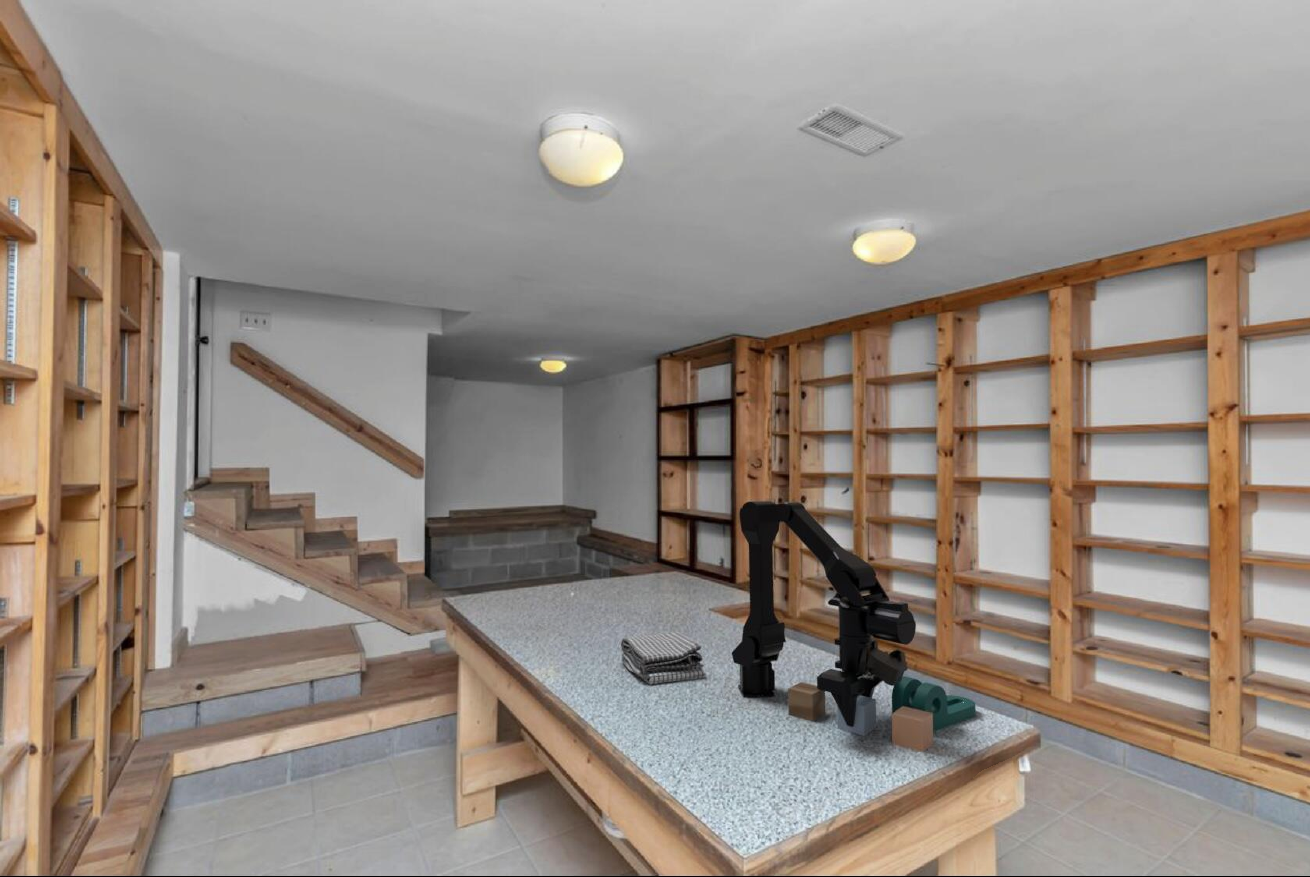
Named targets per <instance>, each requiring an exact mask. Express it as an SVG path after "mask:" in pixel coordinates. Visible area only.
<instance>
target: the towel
mask: <svg viewBox="0 0 1310 877" xmlns="http://www.w3.org/2000/svg"><path fill="white" fill-rule="evenodd" d="M620 647H621V651H622V653H621V662H622V663H623V665H624V666H625V667H626V668H627V669H628V671H630V672H632V673H634V674H635V675H637V676H638V677H640V678H641V680H644V682H645V683H647V685H656V684H661V683H664V684H665V683H672V682H680V681H689V680H697V679H705V678H706V677H707V673H706V671H705V669H704V664H703V663H701V662H702V661H703V656H702V655H701V654H700V653H699V652H698V651H700V650H701V649H702V646H701V645H700V643H699V642H697V641H695V640H692V639H690V638H689V637H688V636H686V635H684V634H682V633H681V632H679V631H672V632H667V633H661V634H648V635H641V636H631V637H630V636H628V637H624V638H623V639H621V643H620Z"/></svg>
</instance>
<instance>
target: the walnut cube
mask: <svg viewBox="0 0 1310 877" xmlns="http://www.w3.org/2000/svg"><path fill="white" fill-rule="evenodd" d="M787 690H788V693H787V694H788V704H787V705H788V716H792V717H795V718H798V719H802V720H806V721H810V722H814V721H816V720H818V719H820V718H821V717H823V716H825V715H826V691H822V690H818V689H817V684H816V685H815V684H811V683H806V682H802V681H801V682H798V683H797V684H795V685H792V686H790V687H788V689H787Z"/></svg>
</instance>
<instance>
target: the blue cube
mask: <svg viewBox="0 0 1310 877" xmlns="http://www.w3.org/2000/svg"><path fill="white" fill-rule="evenodd" d="M836 706H837V705H836ZM836 708H837V715H836V716H837V718H836V719H837V722H836V723H837V729H839V730H842V731H847V732H850V733H853V734H857V735H860V736H863V737H865V736H867V735H868V734H869V733H871V732H872V731H873V730H875V729H876V728H877V698H873V697H872V698H869V697H865V696H861V695H860V696H859V697H857V702H856V712H855V720H854V726H853V727H850V726H847V724H846V722H845V720H844V718H843V716H842V714H841V712H840V710H839V708H838V706H837V707H836Z"/></svg>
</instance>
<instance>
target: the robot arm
mask: <svg viewBox="0 0 1310 877" xmlns="http://www.w3.org/2000/svg"><path fill="white" fill-rule="evenodd" d="M738 514H739V515H738V516H739V522H740V523H739V524H740V530H741V533H742V535H743V536H744V539H745V540H746V542H747V543H748V572H749V574H748V578H749V579H748V580H749V584H748V585H749V615H748V617H747V618H746V621H745V623H744V625H743V627H742V637H741V642H740V643H739V644H738V645H737V646H736V647H735V648H734V649H733V651H731V655H732V660H733V663H734V664H737V665H739V684H738V685H737V688H738V690H739V691H740V693H741V695H742V696H743V697H745V698H746V697H749V698H752V697H755V698H756V697H775V692H774V691H775V690H776V682H775V681H776V679H775V678H776V677H775V675H776V674H775V673H776V671H775V669H774V668H773V663H772V662H777V661H778V659H779V655H780V652H781V651H783V648H784V643H786V642H787V640H786V636H785V632H786V630H785V628H786V625H785V622H783V621H779V619H778V617H777V616H776V614H775V602H774V601H775V600H774V599H775V598H774V596H775V595H774V561H773V560H774V559H773V557H774V555H773V553H774V552H773V551H774V550H773V548H774V547H773V544H774V541H775V539H776V538H777V535H778V534H779V532H780V524H781V523H784V524H785V525H787V527H788V528H789V529H790V530H791V532H792V533H794V534H795V536H796V537H797V538H798V540H800V541H801V542H802V544H803V545H805V547H806V548H807V549H808V550H809V551H810V552H811V553H812V554H813V556H815V557H816V559H817V560H818V561H819V562H820V564H821V565H822V567H823V569H824V574H825V577H826V579H827V581H828V582H829V584H830V585H831V586H832V588H833V589H834V591H835V592H836V593H835V595H834V596H833V597H832V598H831V599H829V600H828V601H827V604H828V605H829V606H833V607H838V637H836V638H834V645H836V646H838V650H839V651H838V659H839V660H836V661H835V662H834V668H835V669H833V668H829V669H827V670H825V671H823V672H821V673H820V674H819V675H818V676H816V686H817V689H818V690H822V691H825V692H828V693H830V694H831V696H832V698H833V700H834V701H835V704H836V706H838V708H839V710H840V712H841V714H842V716H843V718H844V720H845V722H846V724H847V726H850V727H853V726H854V720H855V712H856V702H857V697H859V696H860V695H861V696H865V697H869V698H873V696H874V691H875V689H876V687H877V686H879V685H880V684H882V682H884V683H885V684H886V685H888V686H891V687H894V685H895V684H896V683H898V682H901V680H902V677H903V676H904V673H905V672H906V671H908V668H909V667H908V666H907V665H908V662H907V661H906V660H907V659H906V654H905V652H904V651H902V650H901V649H898V648H896V649H894V650H892V651H891V652H889V651H888V650H885V651H883V650H880V649H879V643H878V641H877V639H878V640H880V641H881V640H882V641H886V642H891V643H896V644H900V645H904V646H905V645H907V646H908V645H910V644H911V642H912V641H913V639H914V638H915V636H916V635H915V634H916V630H917V629H916V628H917V622H916V621H915V617H914V615H913V613H912V611H910V610H909V604H908V603H907V602H903V601H902V602H901V601H899V602H896V601H890V598H889V596H888V594H887V592H886V591H885V590H884V588H883V587H882V586H883V585H881V583H880V581H879V580H878V579H877V573H876V571H875V569H874V567H873V566H872V565H871V564H869V563H868V562H866V561H865V560H864V559H863V558H861V557H860V556H858V555H856V554H854V553H852V552H850V551H848V550H846V549H845V548H844V547H842V546H841V545H840V544H839V543H838V542H837V541H836V540H835V539H834V538H833V537H832V536H831V535H830V534H829V532H827V530H825V528H824V527H823V526H821V524H820V523H819V522H818V521H817V520H816V519H815V518H814V517H813V516H812V515H811V514H810V513H809V512H808V510H806V507H805V506H804V504H802V503H801V502H799V501H786V502H782V503H775V502H773V501H770V500H761V501H759V500H758V501H757V500H755V501H746V502H744V504H743V505H742V506H741V507H740V509H739V513H738ZM838 669H840V670H838Z"/></svg>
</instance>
